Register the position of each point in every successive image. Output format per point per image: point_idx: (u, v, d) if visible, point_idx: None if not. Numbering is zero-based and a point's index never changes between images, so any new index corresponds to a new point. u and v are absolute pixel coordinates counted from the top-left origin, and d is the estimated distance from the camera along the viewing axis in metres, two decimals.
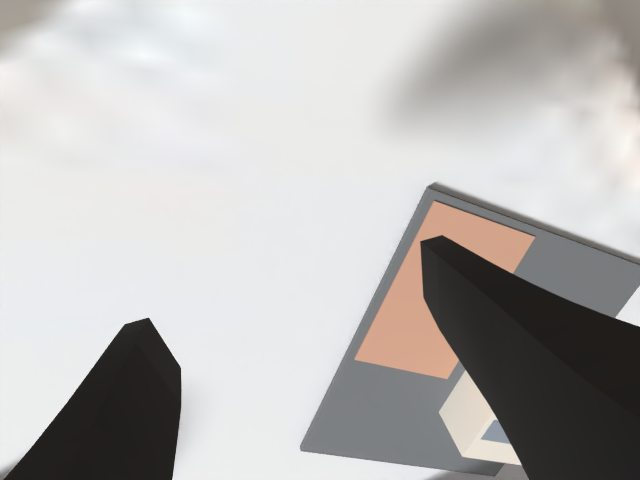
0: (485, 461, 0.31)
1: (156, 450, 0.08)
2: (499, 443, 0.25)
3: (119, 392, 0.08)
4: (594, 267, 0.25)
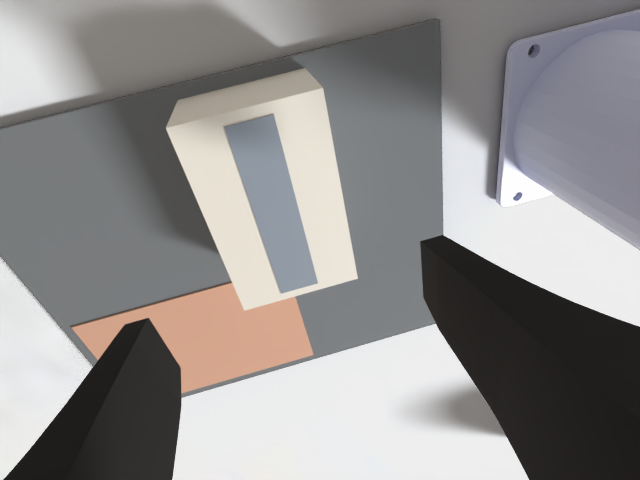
0: (406, 79, 0.16)
1: (156, 450, 0.08)
2: (313, 253, 0.16)
3: (119, 392, 0.08)
4: (16, 237, 0.17)
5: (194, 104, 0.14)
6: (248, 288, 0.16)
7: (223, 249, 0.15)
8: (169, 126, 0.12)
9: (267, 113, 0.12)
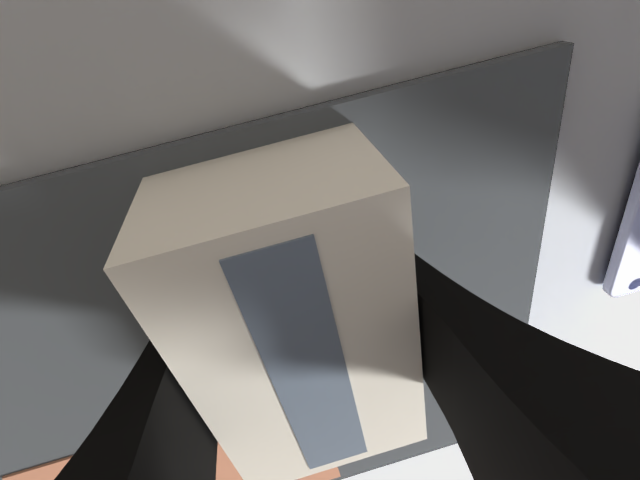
0: (508, 134, 0.10)
1: (202, 436, 0.09)
2: (364, 417, 0.10)
3: (171, 377, 0.08)
4: None
5: (167, 195, 0.08)
6: (259, 468, 0.10)
7: (219, 428, 0.09)
8: (111, 264, 0.06)
9: (301, 233, 0.06)
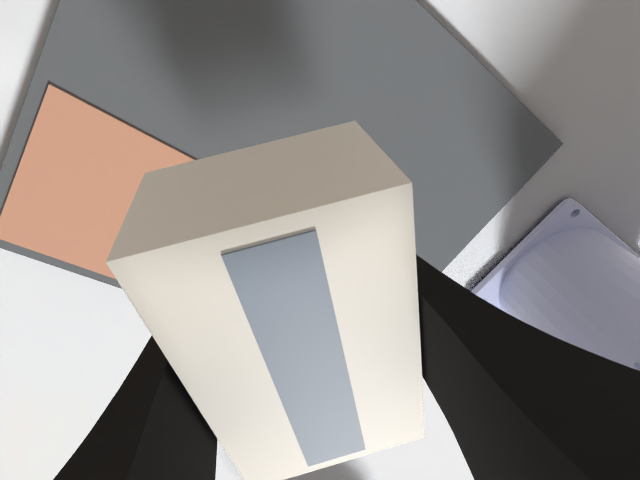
0: (516, 160, 0.19)
1: (202, 436, 0.09)
2: (363, 415, 0.10)
3: (170, 377, 0.08)
4: None
5: (169, 190, 0.08)
6: (257, 465, 0.10)
7: (218, 424, 0.09)
8: (113, 257, 0.06)
9: (304, 228, 0.06)
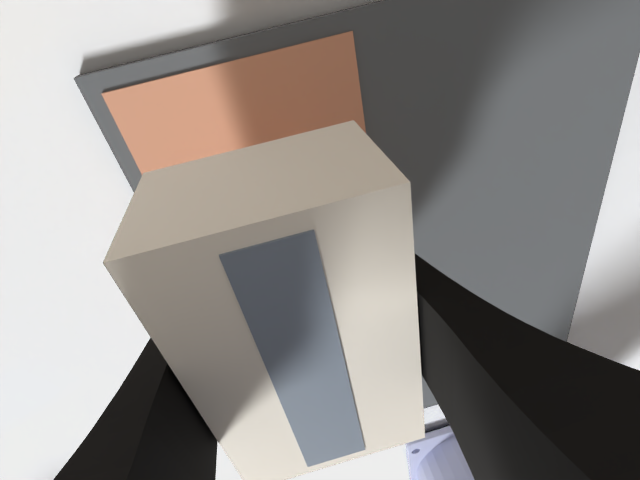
0: None
1: (202, 436, 0.09)
2: (362, 415, 0.10)
3: (170, 377, 0.08)
4: (527, 9, 0.12)
5: (167, 190, 0.08)
6: (257, 465, 0.10)
7: (217, 425, 0.09)
8: (111, 258, 0.06)
9: (301, 229, 0.06)
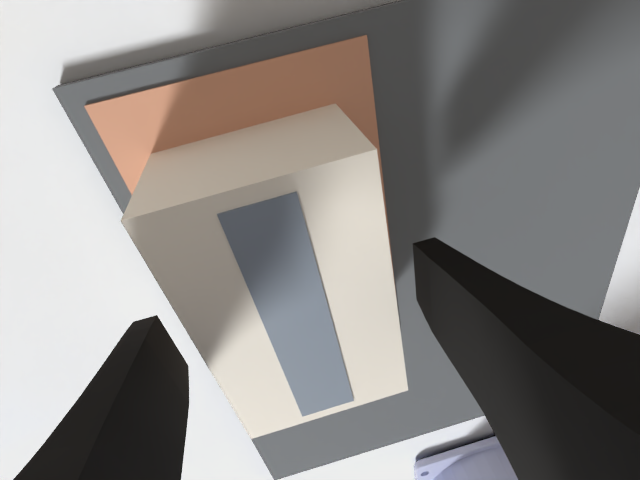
0: None
1: (165, 447, 0.08)
2: (349, 366, 0.11)
3: (129, 389, 0.08)
4: (561, 10, 0.10)
5: (172, 166, 0.09)
6: (256, 414, 0.11)
7: (220, 373, 0.10)
8: (127, 217, 0.07)
9: (286, 191, 0.08)
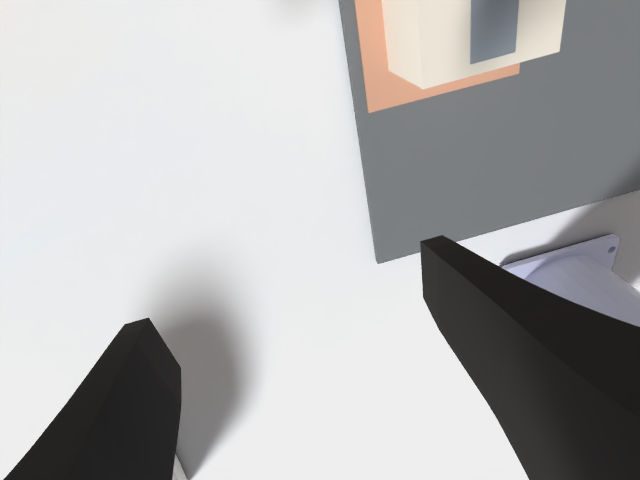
0: (633, 170, 0.22)
1: (156, 450, 0.08)
2: None
3: (119, 392, 0.08)
4: None
5: None
6: (436, 51, 0.13)
7: None
8: None
9: None
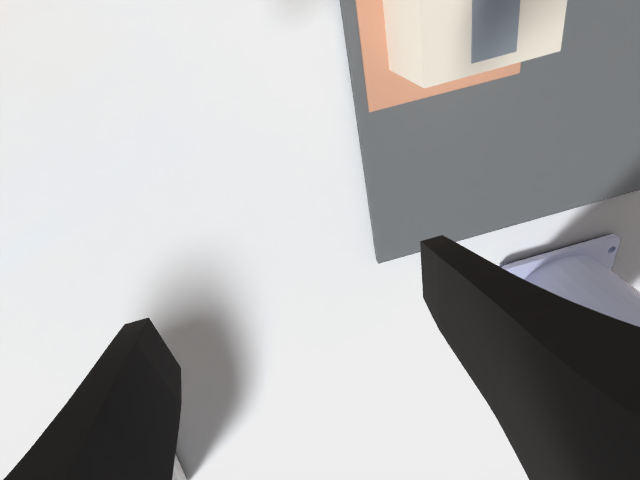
0: (633, 170, 0.22)
1: (156, 450, 0.08)
2: None
3: (119, 392, 0.08)
4: None
5: None
6: (437, 50, 0.13)
7: None
8: None
9: None
